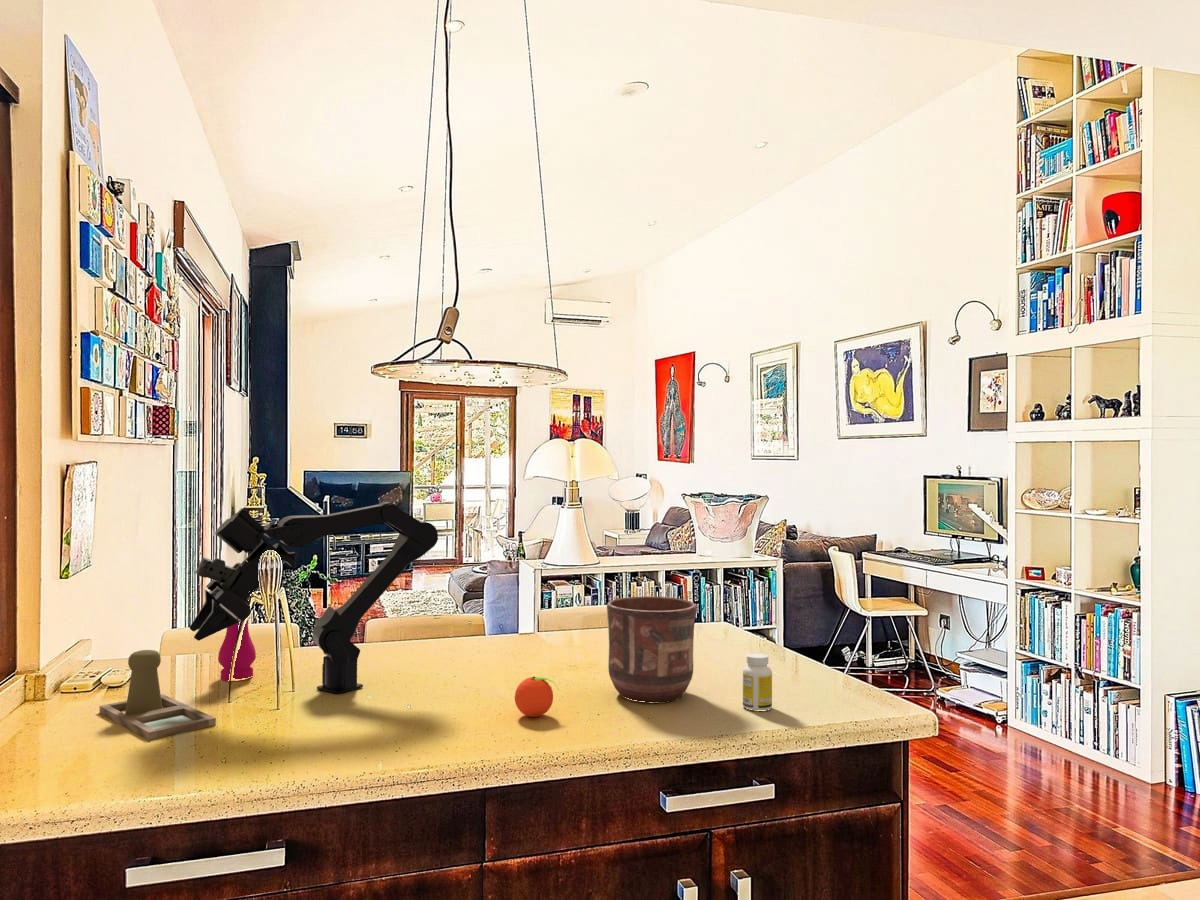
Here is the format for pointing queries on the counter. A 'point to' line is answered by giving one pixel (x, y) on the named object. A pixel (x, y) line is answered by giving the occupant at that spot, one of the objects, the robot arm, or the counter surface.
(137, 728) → the brown wooden frame
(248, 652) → the pepper mill
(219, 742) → the counter surface
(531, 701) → the clementine
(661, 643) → the pottery
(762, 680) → the supplement bottle
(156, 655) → the cork
